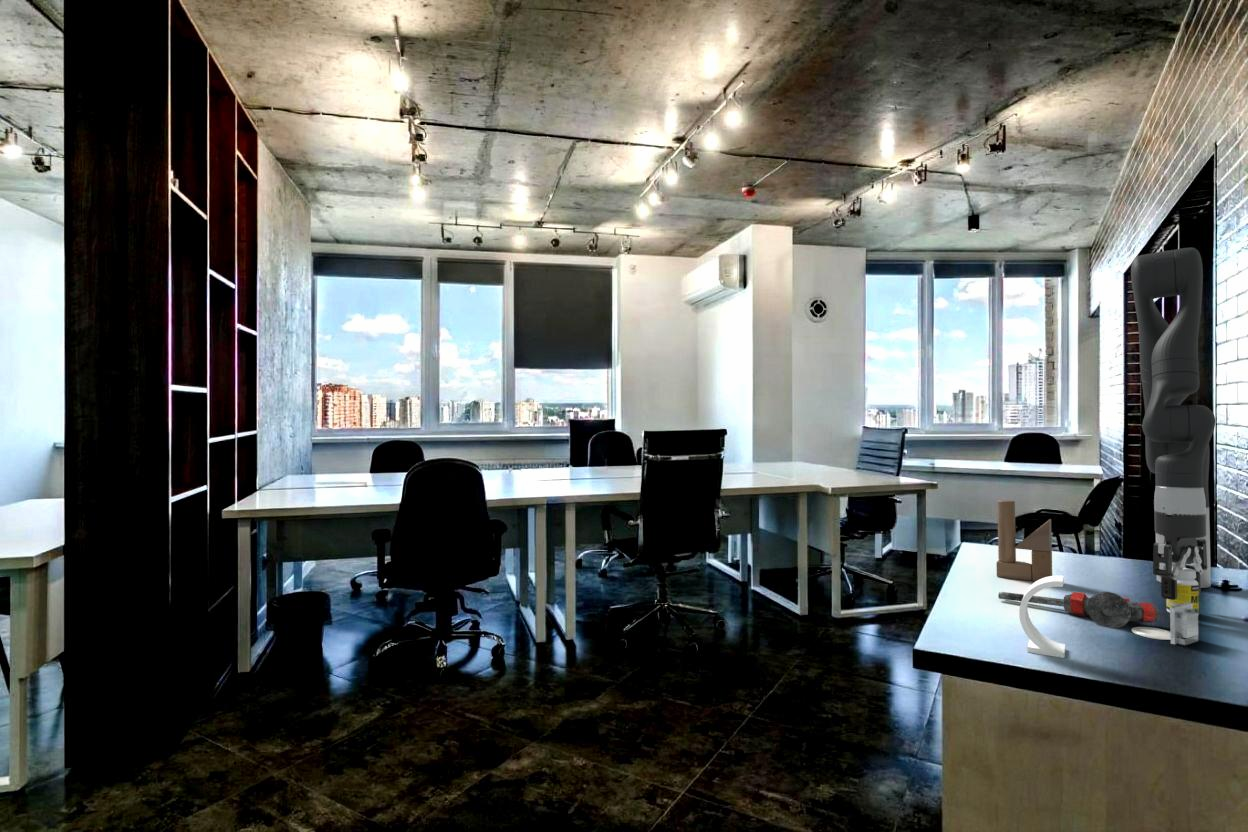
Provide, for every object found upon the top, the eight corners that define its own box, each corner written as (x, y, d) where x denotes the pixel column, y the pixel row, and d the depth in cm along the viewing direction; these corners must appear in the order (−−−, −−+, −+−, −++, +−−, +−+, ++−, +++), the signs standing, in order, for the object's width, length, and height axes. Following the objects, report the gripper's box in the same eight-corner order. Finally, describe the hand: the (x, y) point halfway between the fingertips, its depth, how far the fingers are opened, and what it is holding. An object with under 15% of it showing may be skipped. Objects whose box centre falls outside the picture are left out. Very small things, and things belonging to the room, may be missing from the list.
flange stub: (1189, 637, 112) (1188, 602, 112) (1202, 640, 111) (1201, 604, 111) (1170, 643, 110) (1169, 607, 110) (1183, 646, 108) (1182, 609, 108)
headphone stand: (1064, 658, 104) (1062, 581, 104) (1019, 650, 107) (1018, 576, 107) (1065, 649, 108) (1064, 575, 108) (1022, 642, 111) (1020, 571, 111)
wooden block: (1050, 583, 149) (1048, 503, 149) (996, 577, 156) (994, 500, 156) (1052, 580, 152) (1051, 502, 152) (999, 574, 159) (998, 499, 159)
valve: (1171, 629, 123) (1154, 635, 113) (1017, 607, 142) (991, 611, 133) (1170, 594, 124) (1152, 597, 114) (1016, 577, 143) (990, 579, 134)
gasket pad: (1142, 626, 118) (1142, 624, 118) (1183, 636, 113) (1183, 634, 113) (1124, 631, 116) (1124, 630, 116) (1164, 641, 110) (1164, 640, 110)
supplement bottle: (1196, 618, 122) (1195, 573, 122) (1164, 613, 126) (1163, 569, 126) (1201, 613, 125) (1200, 569, 125) (1169, 608, 129) (1168, 565, 129)
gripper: (1175, 506, 132) (1177, 587, 132) (1136, 510, 126) (1137, 596, 126) (1222, 510, 125) (1224, 596, 125) (1183, 515, 119) (1185, 605, 119)
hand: (1181, 596), depth 125 cm, fingers open, 8 cm apart
